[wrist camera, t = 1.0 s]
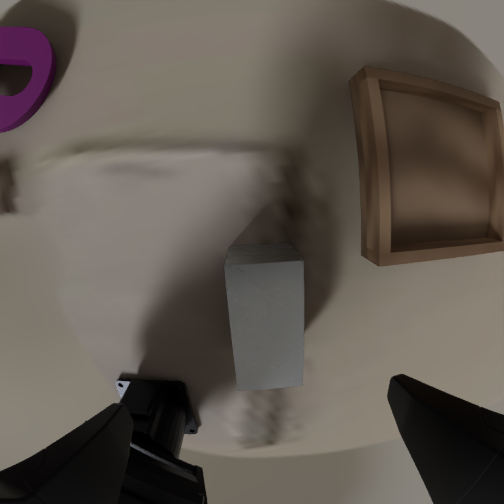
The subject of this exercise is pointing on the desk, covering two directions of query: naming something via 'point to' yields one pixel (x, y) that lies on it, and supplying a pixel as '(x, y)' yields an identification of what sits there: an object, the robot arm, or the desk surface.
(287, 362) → the aluminium block
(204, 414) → the desk surface
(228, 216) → the desk surface
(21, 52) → the mounting bracket
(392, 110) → the walnut tray
